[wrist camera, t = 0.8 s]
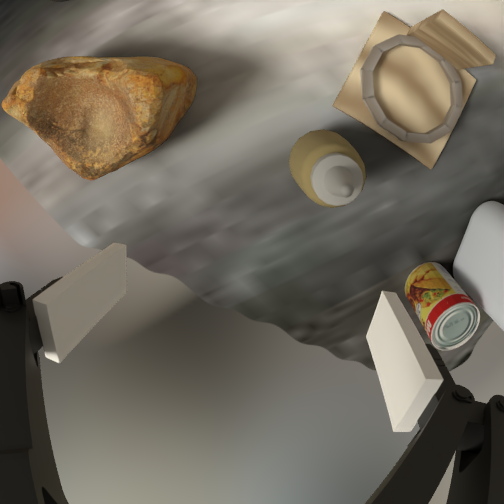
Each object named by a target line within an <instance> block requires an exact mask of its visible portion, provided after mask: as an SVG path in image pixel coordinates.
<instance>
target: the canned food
mask: <svg viewBox="0 0 504 504" xmlns="http://www.w3.org/2000/svg"><path fill="white" fill-rule="evenodd" d="M405 293H406V296H407V298H408V300H409V302H410V303H411V305H412V307H413V309H414V310H415V312H416V314H417V316H418V318H419V319H420V321H421V323H422V325H423V327H424V328H425V330H426V332H427V334H428V336H429V338H430V340H431V342H432V343H433V345H434V347H436V348H437V349H439V350H443V351H445V350H452V349H455V348H457V347H459V346H461V345H463V344H464V343H465V342H467V341H468V340H469V339H470V338H471V337H472V335H473V334H474V333H475V331H476V329H477V327H478V325H479V321H480V312H479V310H478V308H477V307H476V305H475V304H474V303H473V302H472V300H471V299H470V298H469V297H468V295H467V294H466V293H465V292H464V291H463V289H462V288H461V287H460V286H459V285H458V283H457V282H456V281H455V280H454V279H453V278H452V276H451V275H450V274H449V273H448V272H447V271H446V269H445V268H444V267H443V266H442V265H441V264H438V263H436V262H427V263H423V264H421V265H419V266H418V267H416V268H415V269H414V270H413V271H412V272H411V273H410V275H409V277H408V278H407V281H406V284H405Z"/></svg>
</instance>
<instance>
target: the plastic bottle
mask: <svg viewBox="0 0 504 504" xmlns="http://www.w3.org/2000/svg"><path fill="white" fill-rule="evenodd" d="M453 276H454V279H455V281H456V282H457V283H458V285H459V286H460V287H461V288H462V289H463V290H464V291H465V292H466V293H467V294H468V295H469V296H470V297H471V298H472V299H473V300H474V301H475V302H476V303H477V304H478V305H479V306H480V307H481V308H482V309H483V310H484V311H485V312H486V313H487V314H488V315H489V316H490V317H491V318H492V319H493V320H494V321H495V322H496V323H497V324H498V326H499V327H500V328H501V329H502V330H503V331H504V205H503V204H501V203H499V202H496V201H488V202H485V203H483V204H481V205H480V206H479V207H478V208H477V209H476V210H475V211H474V213H473V214H472V216H471V219H470V222H469V224H468V227H467V230H466V232H465V235H464V237H463V240H462V242H461V245H460V247H459V250H458V252H457V255H456V257H455V259H454V263H453Z"/></svg>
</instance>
